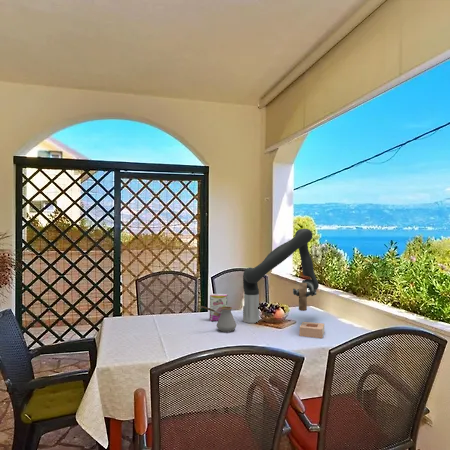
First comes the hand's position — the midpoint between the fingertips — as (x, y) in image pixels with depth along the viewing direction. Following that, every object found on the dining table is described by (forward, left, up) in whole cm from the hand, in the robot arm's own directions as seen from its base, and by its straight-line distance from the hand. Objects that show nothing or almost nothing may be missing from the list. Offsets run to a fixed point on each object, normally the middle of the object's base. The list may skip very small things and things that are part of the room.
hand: (302, 294), depth 207 cm
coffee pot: (-46, -10, -22) cm, 52 cm away
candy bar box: (-54, +11, -22) cm, 59 cm away
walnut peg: (0, +3, -9) cm, 9 cm away
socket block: (+5, +2, -22) cm, 23 cm away
